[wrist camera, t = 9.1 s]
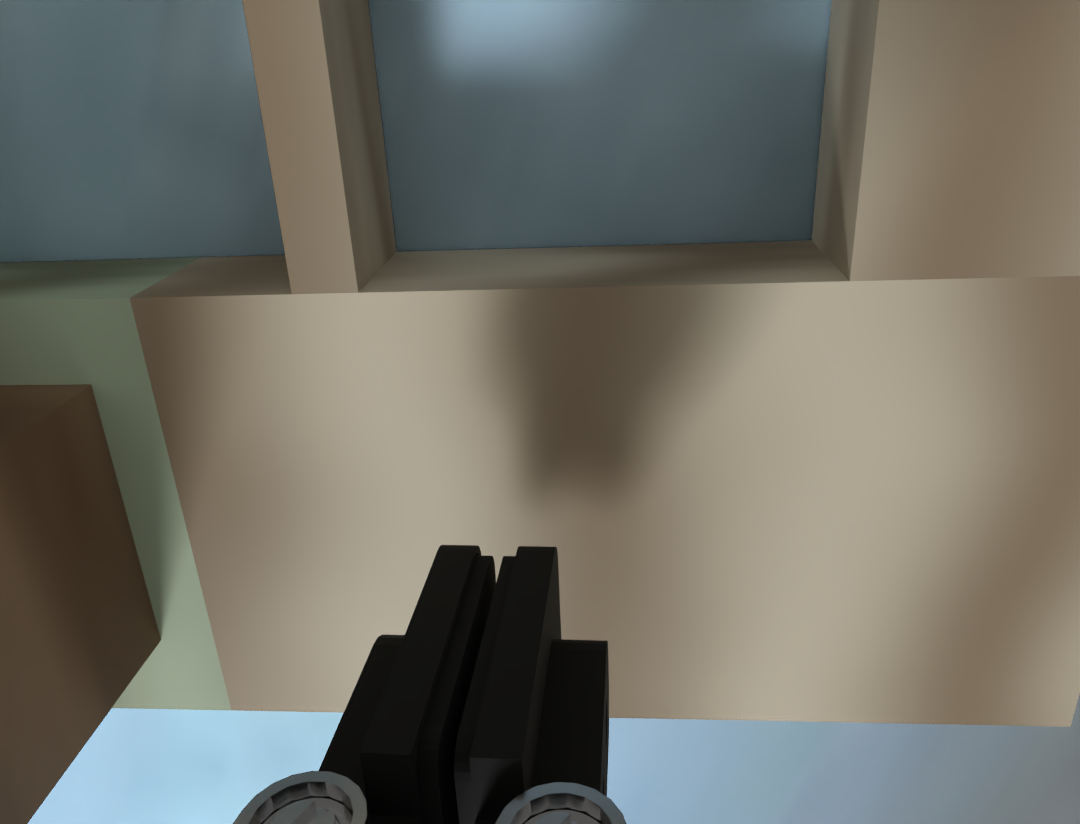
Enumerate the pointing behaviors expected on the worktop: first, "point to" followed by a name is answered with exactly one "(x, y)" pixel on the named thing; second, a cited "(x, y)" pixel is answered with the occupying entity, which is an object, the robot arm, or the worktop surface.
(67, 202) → the worktop surface
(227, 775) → the worktop surface
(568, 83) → the worktop surface
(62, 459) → the walnut block
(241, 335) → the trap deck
